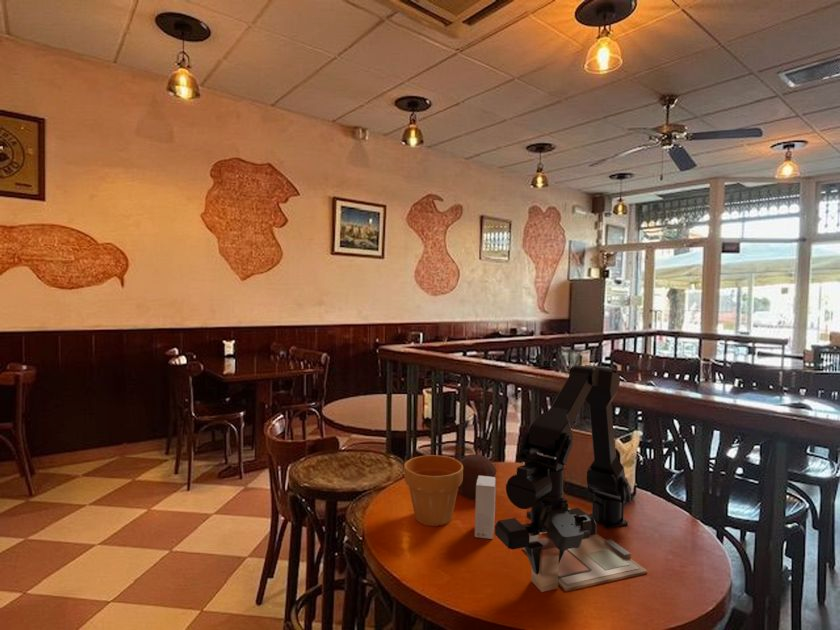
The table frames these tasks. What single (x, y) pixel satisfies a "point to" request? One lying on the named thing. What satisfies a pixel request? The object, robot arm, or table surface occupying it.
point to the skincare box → (485, 507)
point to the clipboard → (595, 564)
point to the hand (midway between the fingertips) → (544, 571)
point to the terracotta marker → (547, 566)
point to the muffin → (474, 473)
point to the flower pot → (433, 487)
